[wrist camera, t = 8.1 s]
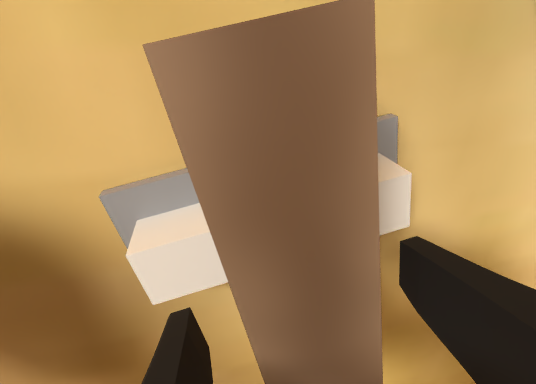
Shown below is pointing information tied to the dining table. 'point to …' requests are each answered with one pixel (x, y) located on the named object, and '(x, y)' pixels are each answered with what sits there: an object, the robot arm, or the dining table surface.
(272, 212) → the walnut bar
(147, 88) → the dining table surface
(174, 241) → the ridge
